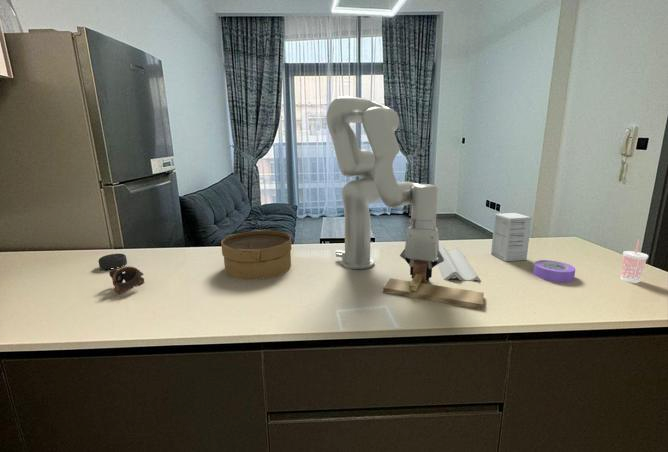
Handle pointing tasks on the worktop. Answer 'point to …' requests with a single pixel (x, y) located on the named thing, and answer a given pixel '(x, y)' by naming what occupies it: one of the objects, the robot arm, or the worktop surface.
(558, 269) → the masking tape
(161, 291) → the worktop surface
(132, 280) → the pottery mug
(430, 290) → the oak board
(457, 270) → the crown molding
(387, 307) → the worktop surface
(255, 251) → the steamer basket
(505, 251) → the supplement box
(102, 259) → the smart speaker
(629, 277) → the beverage cup
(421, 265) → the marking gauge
